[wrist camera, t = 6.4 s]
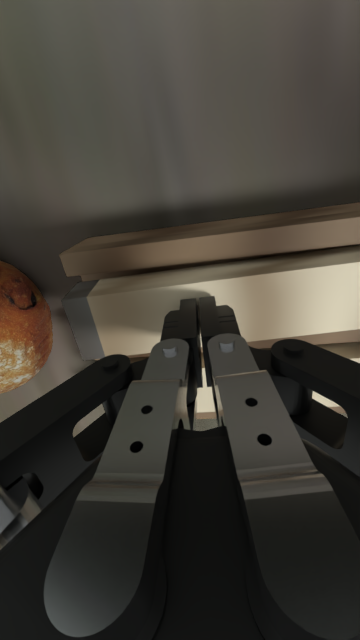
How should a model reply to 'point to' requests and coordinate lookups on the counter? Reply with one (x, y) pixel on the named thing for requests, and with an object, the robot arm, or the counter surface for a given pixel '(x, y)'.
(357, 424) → the robot arm
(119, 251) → the wooden slat frame
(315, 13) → the counter surface
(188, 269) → the hinged leg
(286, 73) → the counter surface
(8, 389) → the bread roll
